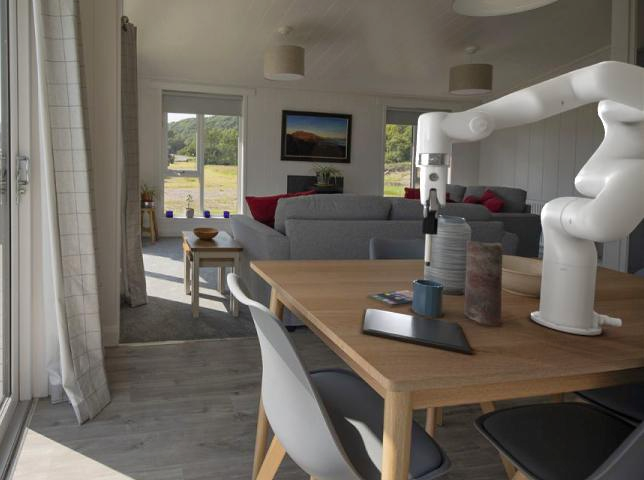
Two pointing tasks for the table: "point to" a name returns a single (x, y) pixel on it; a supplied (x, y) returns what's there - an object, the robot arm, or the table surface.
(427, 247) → the stylus
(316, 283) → the table surface
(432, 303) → the pen cup
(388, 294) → the smartphone
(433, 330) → the tablet
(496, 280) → the candle
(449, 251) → the vase
